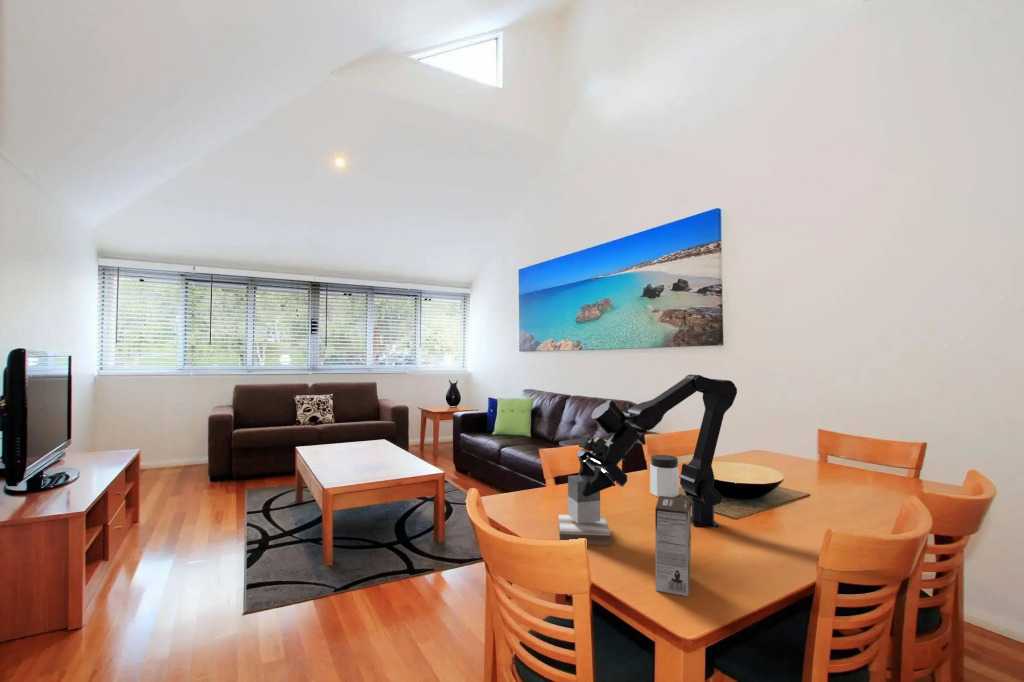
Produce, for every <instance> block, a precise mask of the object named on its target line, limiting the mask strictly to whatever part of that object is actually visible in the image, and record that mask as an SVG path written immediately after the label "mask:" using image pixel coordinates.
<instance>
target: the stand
mask: <svg viewBox="0 0 1024 682" xmlns="http://www.w3.org/2000/svg"><path fill="white" fill-rule="evenodd" d="M558 535H559V537H560V538H559V541H560V540H569V539H578V538H586V539H587V544H588V545H587V546H604V547H605V546H606V547H607V546H611V545H612V544H611V543H612V539H611V538H612V537H611V536H612V533H611V529H610V528H609V524H608V522H607V519H606V516H605V515H600V521H596V522H587V523H577V522H575V521H574V520H573V519H572V518H571V517H570V516H568V514H559V513H558Z"/></svg>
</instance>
